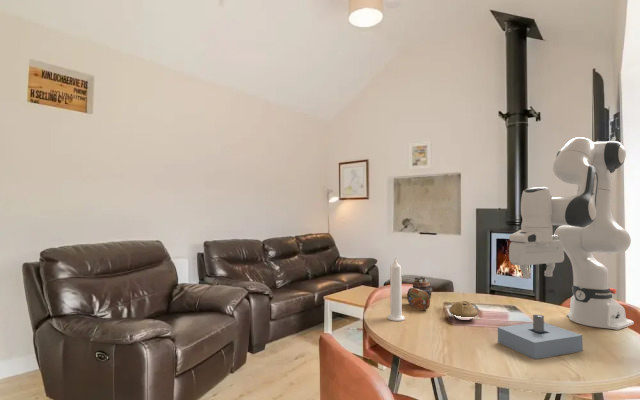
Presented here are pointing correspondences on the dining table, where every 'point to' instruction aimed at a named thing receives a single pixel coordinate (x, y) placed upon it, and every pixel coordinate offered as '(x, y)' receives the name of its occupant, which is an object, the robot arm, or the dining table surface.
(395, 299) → the candle
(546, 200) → the robot arm
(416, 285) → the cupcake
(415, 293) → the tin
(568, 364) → the dining table surface
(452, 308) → the oil lamp
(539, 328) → the peg
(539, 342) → the hole block
